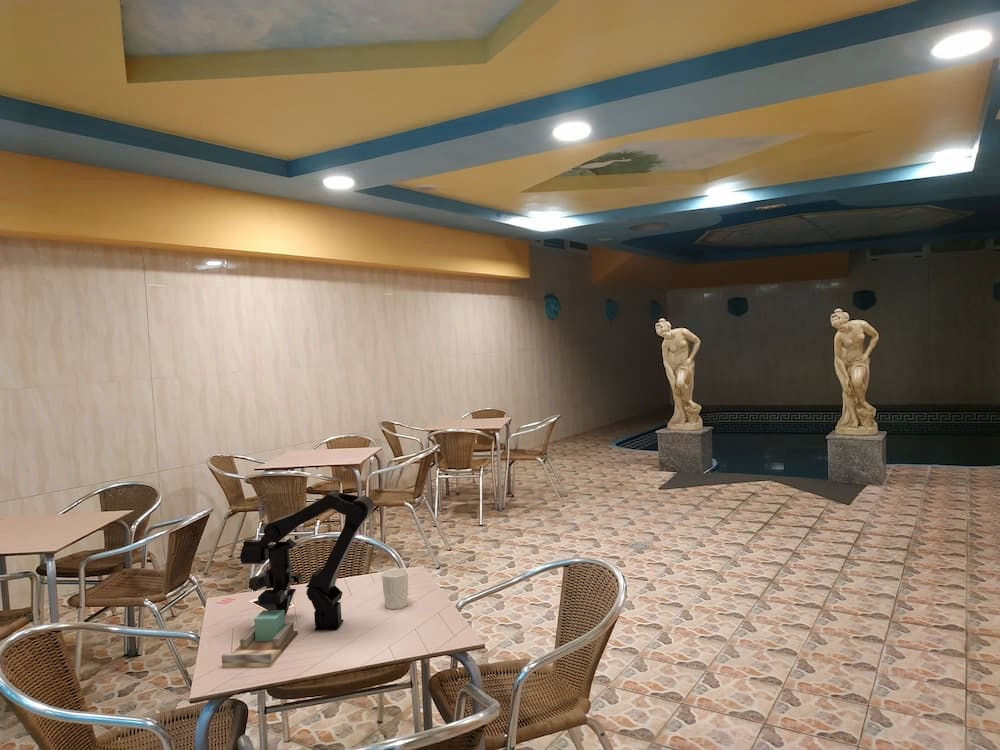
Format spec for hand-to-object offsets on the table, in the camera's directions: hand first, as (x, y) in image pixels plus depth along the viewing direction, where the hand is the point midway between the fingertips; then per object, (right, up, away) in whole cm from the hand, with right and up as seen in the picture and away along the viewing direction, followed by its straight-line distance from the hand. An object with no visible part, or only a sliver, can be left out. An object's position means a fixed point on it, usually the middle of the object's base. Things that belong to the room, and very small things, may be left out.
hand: (283, 617), depth 198 cm
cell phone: (-9, -3, +18) cm, 21 cm away
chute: (-1, -3, -15) cm, 15 cm away
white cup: (+30, -1, +13) cm, 33 cm away
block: (-1, -2, -9) cm, 9 cm away
